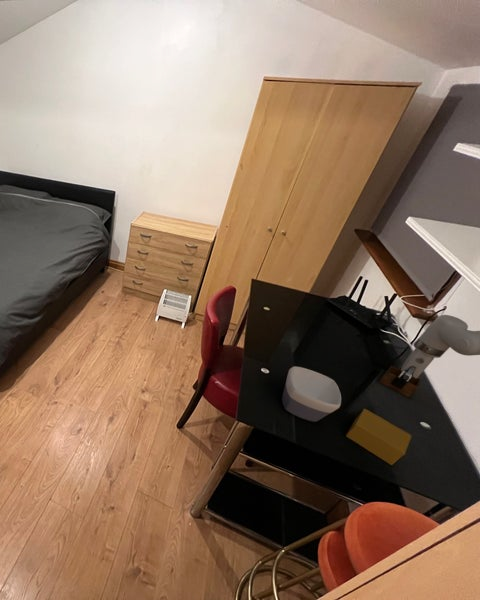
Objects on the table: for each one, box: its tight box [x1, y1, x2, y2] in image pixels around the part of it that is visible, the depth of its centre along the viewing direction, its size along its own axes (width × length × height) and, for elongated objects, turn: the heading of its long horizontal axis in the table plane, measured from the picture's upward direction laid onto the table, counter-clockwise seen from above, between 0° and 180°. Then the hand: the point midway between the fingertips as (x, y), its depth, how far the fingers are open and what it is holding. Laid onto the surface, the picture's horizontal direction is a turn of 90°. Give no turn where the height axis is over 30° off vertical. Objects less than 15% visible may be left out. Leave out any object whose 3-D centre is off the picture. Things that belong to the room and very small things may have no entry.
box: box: [345, 407, 413, 466], centre depth 100 cm, size 12×10×6 cm
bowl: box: [281, 365, 342, 423], centre depth 108 cm, size 15×15×11 cm
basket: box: [379, 365, 422, 398], centre depth 122 cm, size 9×7×6 cm
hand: (398, 380), depth 122 cm, fingers open, 9 cm apart
